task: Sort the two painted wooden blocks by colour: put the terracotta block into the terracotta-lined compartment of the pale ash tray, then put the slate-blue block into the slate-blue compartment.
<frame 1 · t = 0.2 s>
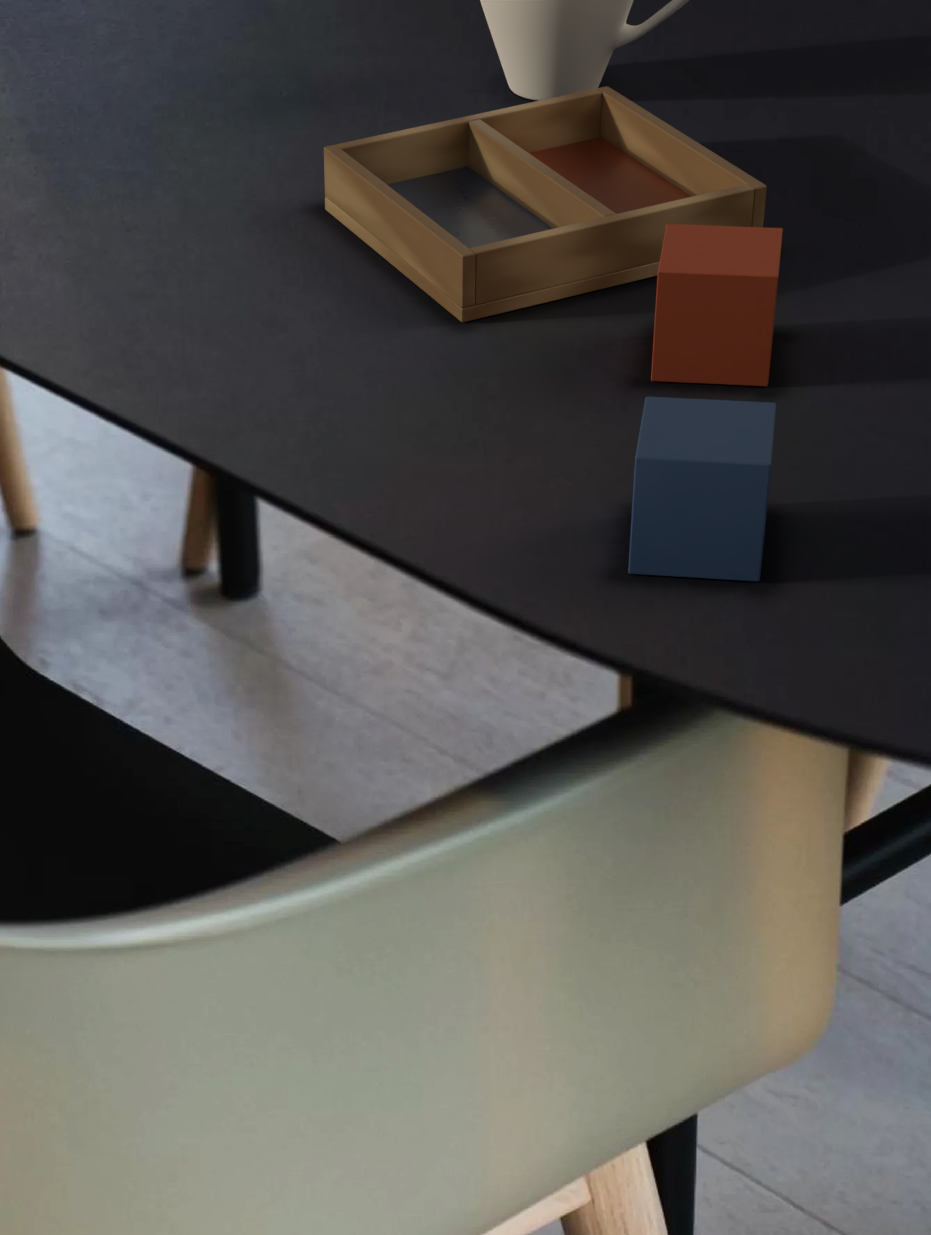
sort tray: (537, 229, 107), on the table
blue block: (697, 545, 86), on the table
mug: (591, 93, 119), on the table
terracotta block: (712, 358, 97), on the table
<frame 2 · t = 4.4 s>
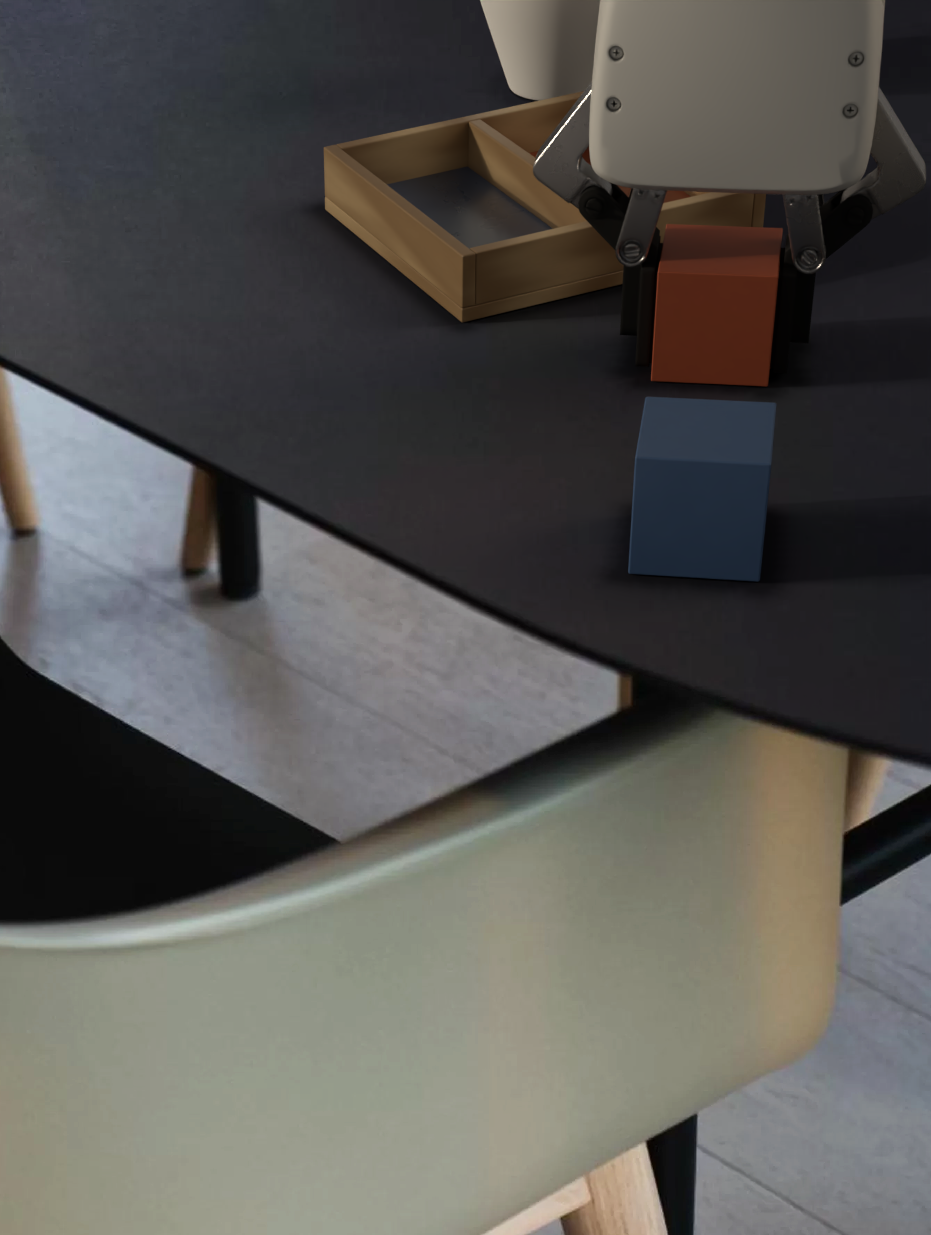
hand: (713, 349, 97), 0 cm above the table, tool pointing down, fingers closed on terracotta block, 4 cm apart
terracotta block: (712, 358, 97), on the table, touching gripper
everything else where it was.
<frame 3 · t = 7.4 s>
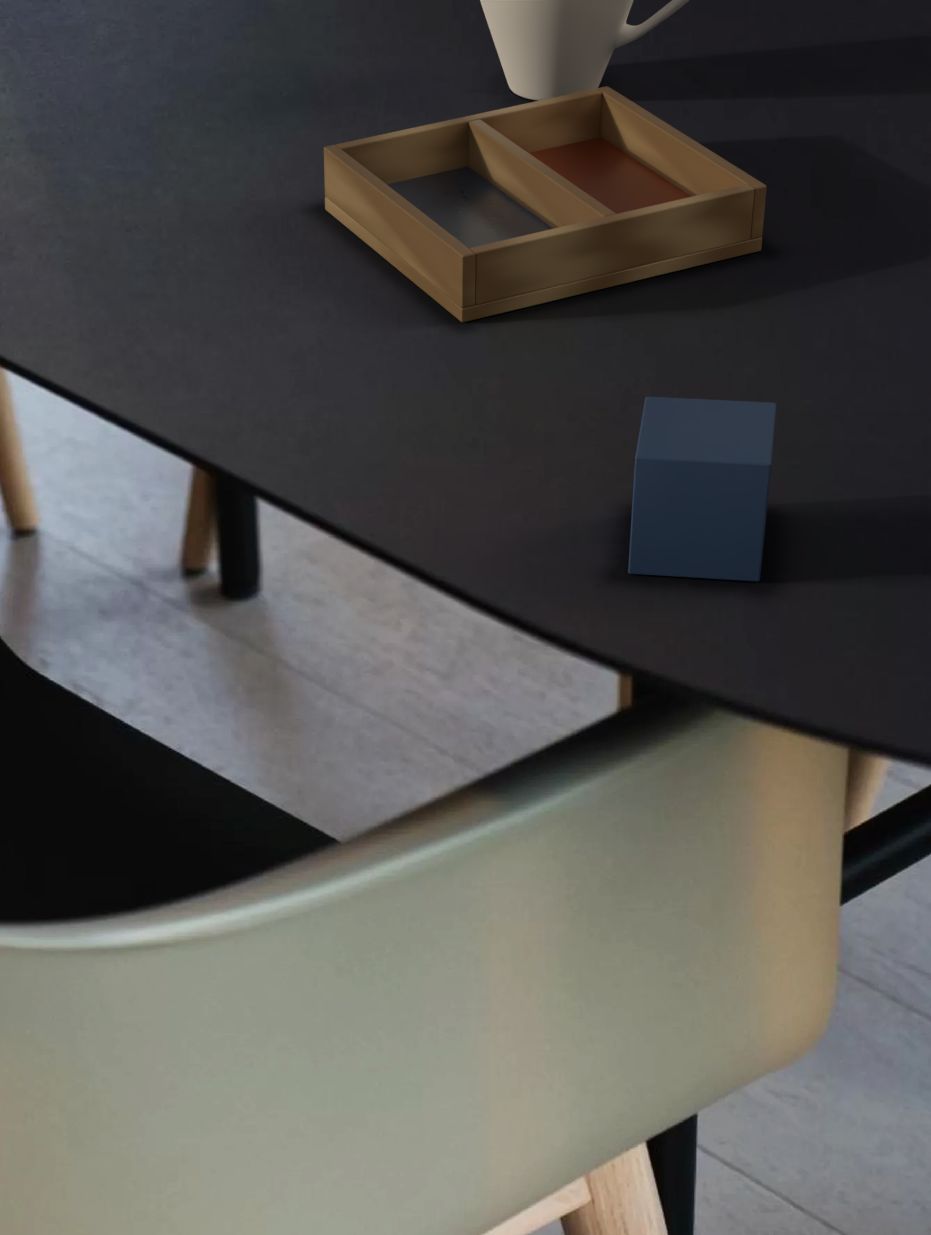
when the fingers open (1 cm above the table, at t = 10.5 s): terracotta block stays where it is, resting on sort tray.
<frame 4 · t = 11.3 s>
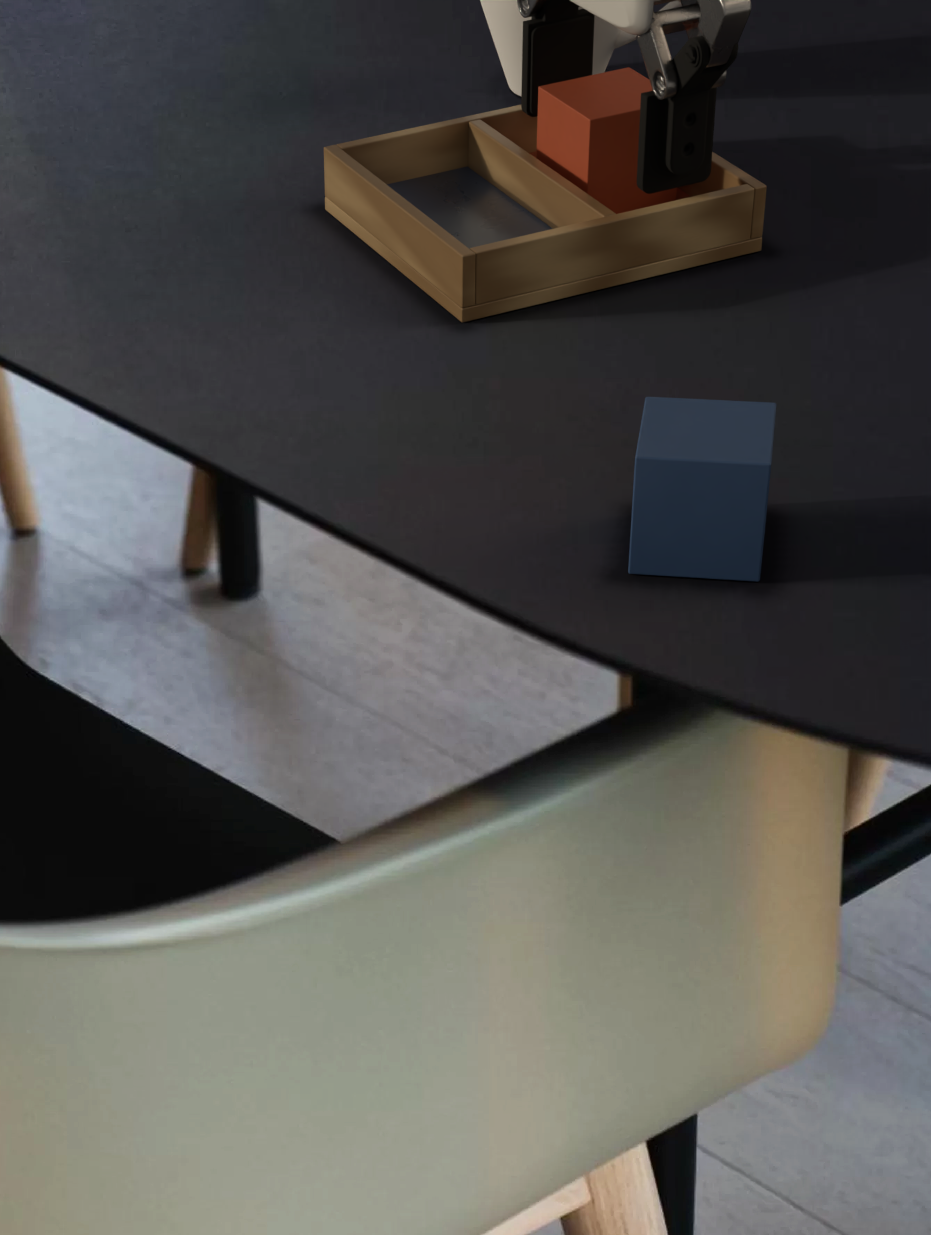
hand: (612, 146, 106), 3 cm above the table, tool pointing down, fingers open, 9 cm apart
terracotta block: (605, 195, 107), point 1 cm above the table, touching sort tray
everything else where it was.
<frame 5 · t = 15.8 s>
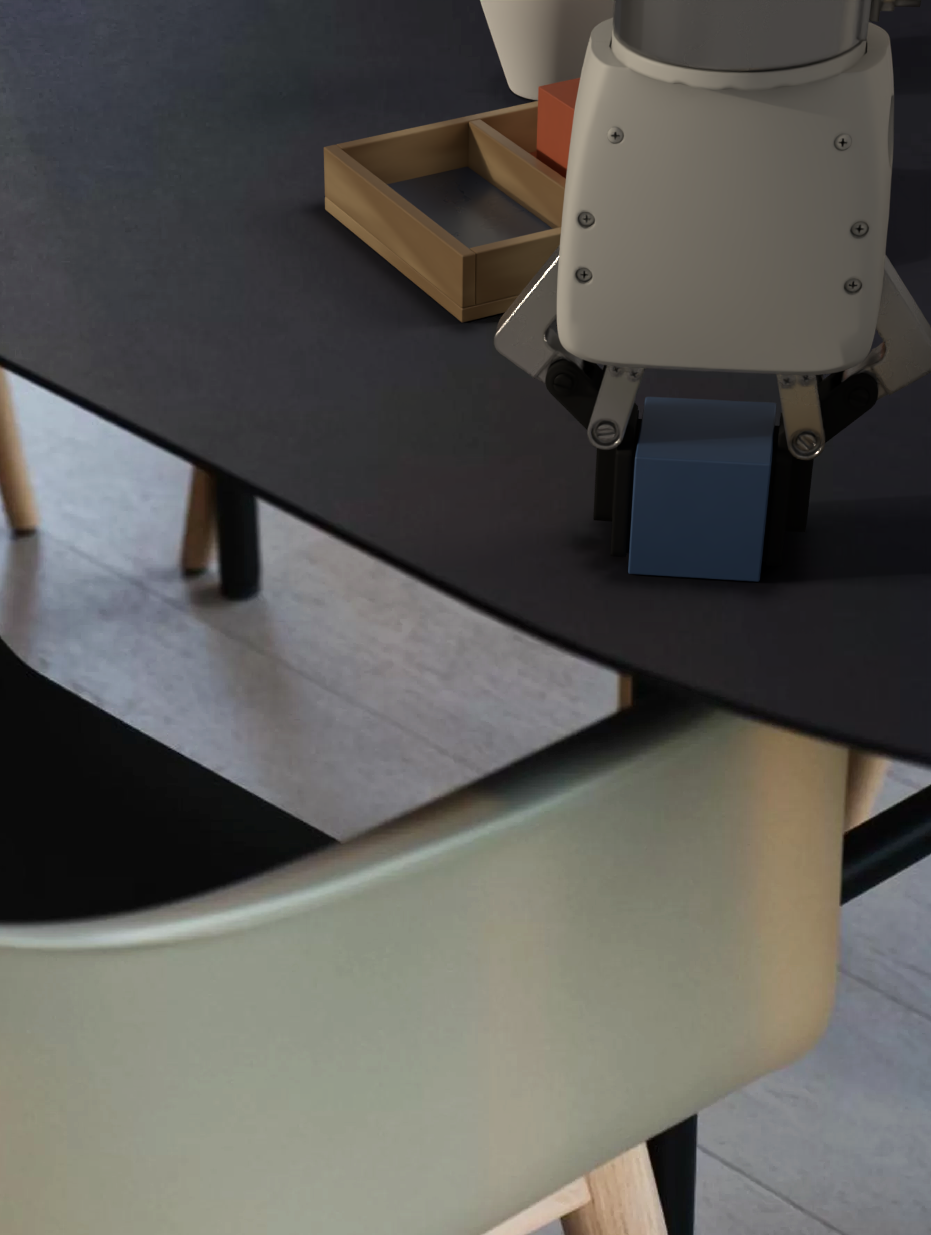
hand: (698, 536, 86), 0 cm above the table, tool pointing down, fingers closed on blue block, 4 cm apart
blue block: (697, 545, 86), on the table, touching gripper
everything else where it was.
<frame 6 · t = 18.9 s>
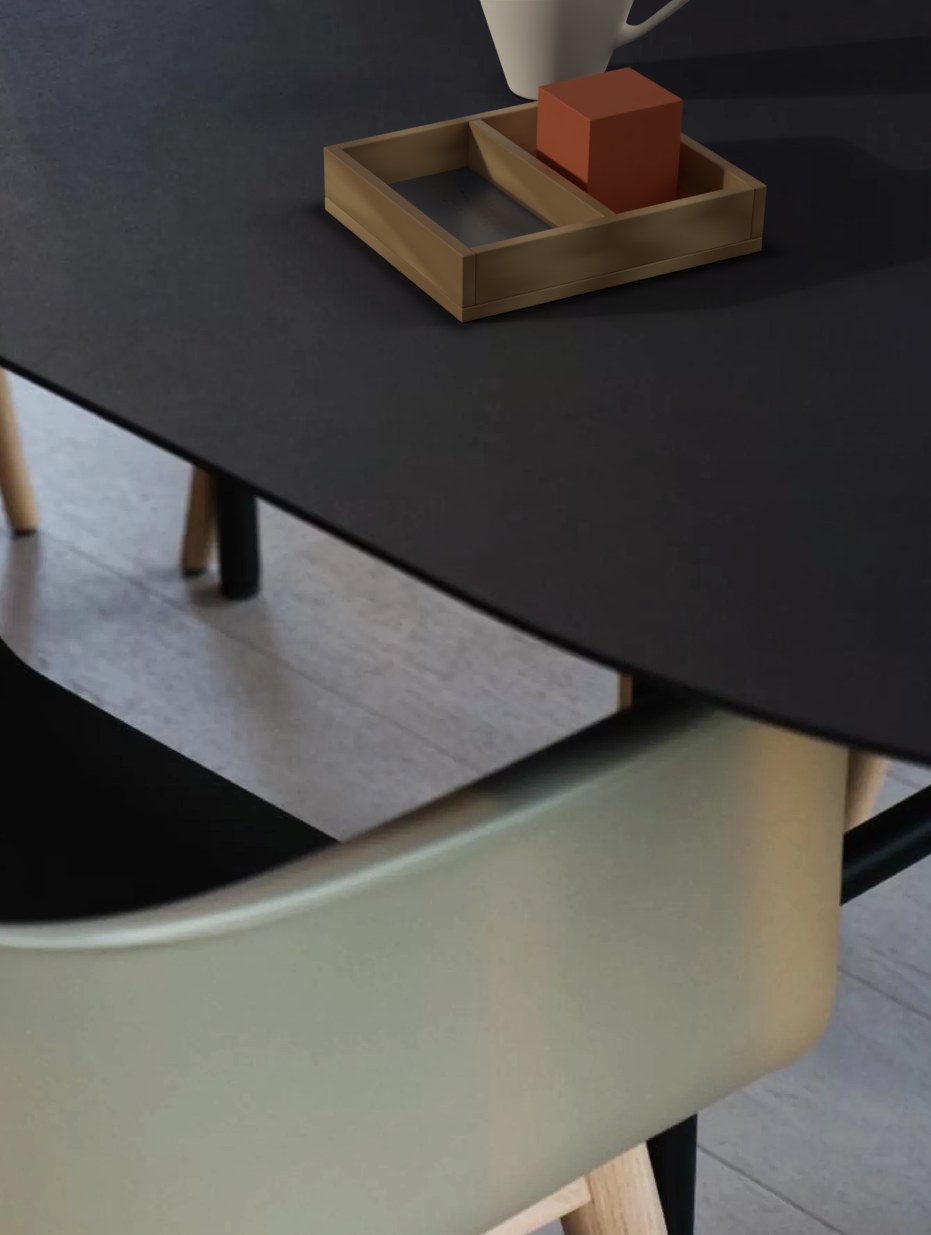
when the fingers open (1 cm above the table, at t = 22.4 s): blue block stays where it is, resting on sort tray.
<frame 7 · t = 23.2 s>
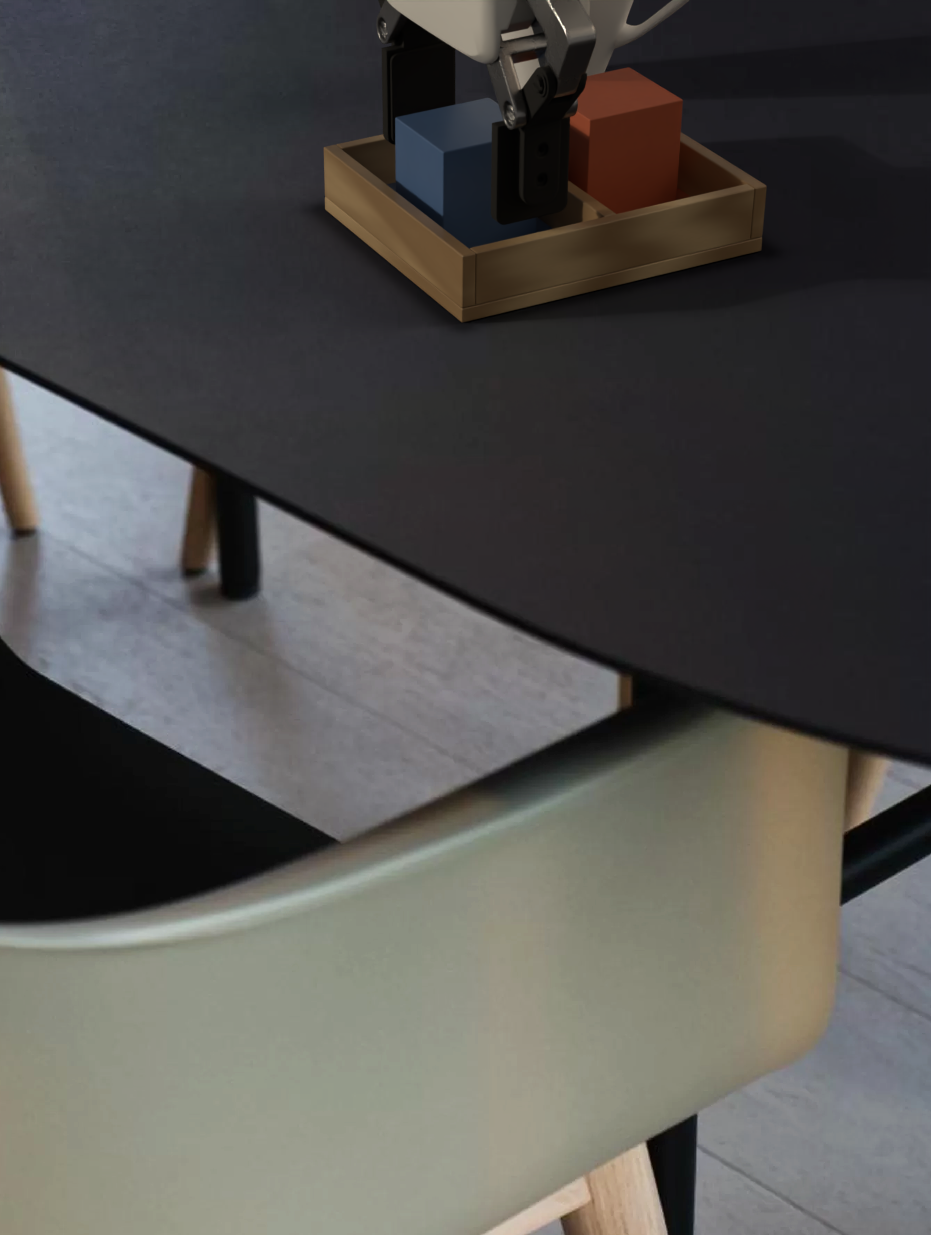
hand: (472, 175, 104), 3 cm above the table, tool pointing down, fingers open, 9 cm apart
blue block: (465, 227, 105), point 1 cm above the table, touching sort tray
everything else where it was.
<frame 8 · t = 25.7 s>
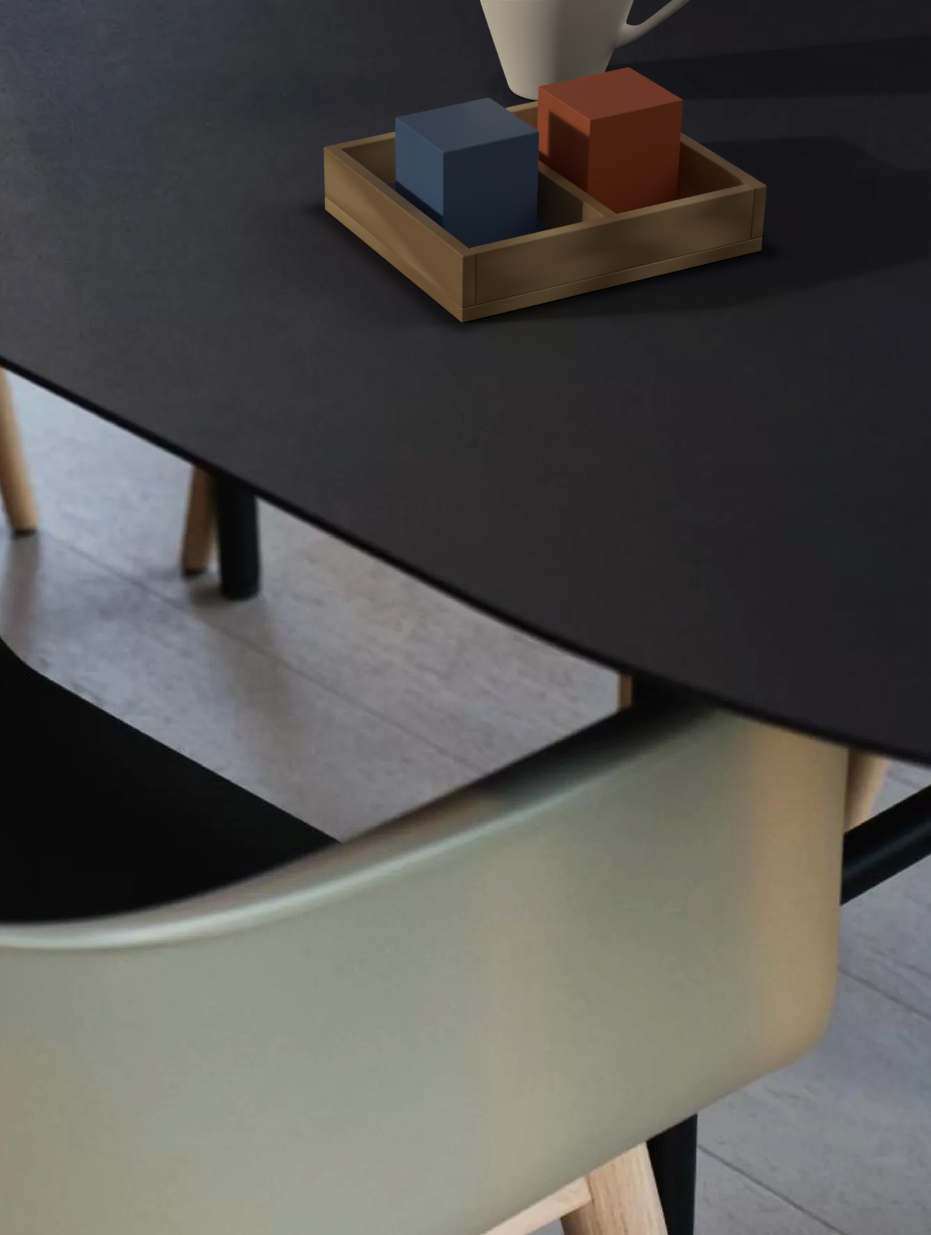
nothing on the table moved.
at the end: terracotta block inside the target area on the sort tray (0.1 cm from its centre), point 0.8 cm above the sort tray's base; blue block inside the target area on the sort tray (0.1 cm from its centre), point 0.8 cm above the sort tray's base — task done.
